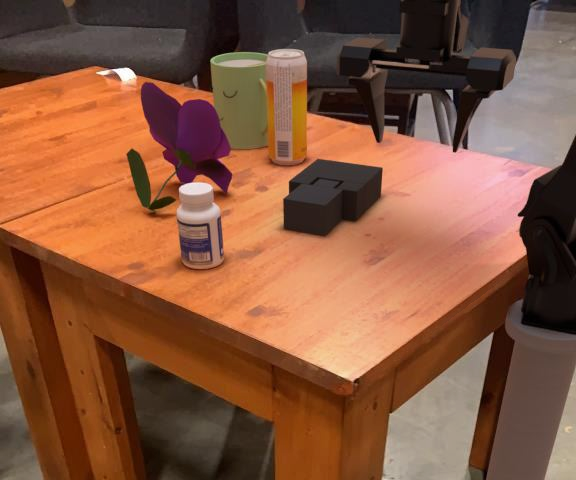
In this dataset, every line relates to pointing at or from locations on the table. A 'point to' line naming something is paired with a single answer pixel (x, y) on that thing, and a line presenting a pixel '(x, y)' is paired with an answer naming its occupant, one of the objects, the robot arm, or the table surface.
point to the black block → (313, 207)
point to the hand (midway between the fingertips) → (416, 146)
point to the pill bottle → (199, 227)
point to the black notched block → (345, 183)
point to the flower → (181, 143)
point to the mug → (241, 98)
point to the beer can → (287, 106)
